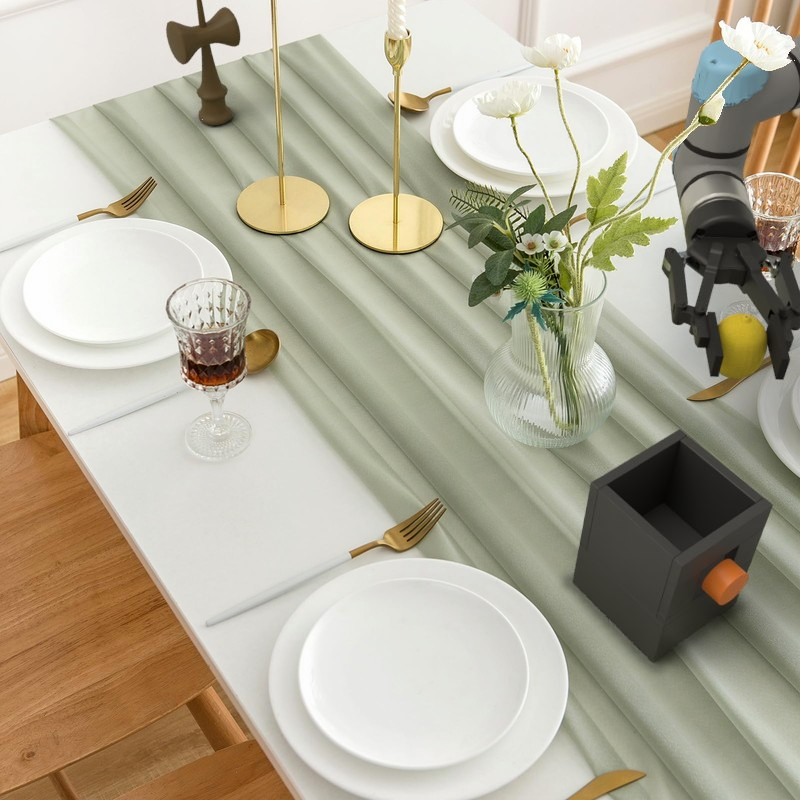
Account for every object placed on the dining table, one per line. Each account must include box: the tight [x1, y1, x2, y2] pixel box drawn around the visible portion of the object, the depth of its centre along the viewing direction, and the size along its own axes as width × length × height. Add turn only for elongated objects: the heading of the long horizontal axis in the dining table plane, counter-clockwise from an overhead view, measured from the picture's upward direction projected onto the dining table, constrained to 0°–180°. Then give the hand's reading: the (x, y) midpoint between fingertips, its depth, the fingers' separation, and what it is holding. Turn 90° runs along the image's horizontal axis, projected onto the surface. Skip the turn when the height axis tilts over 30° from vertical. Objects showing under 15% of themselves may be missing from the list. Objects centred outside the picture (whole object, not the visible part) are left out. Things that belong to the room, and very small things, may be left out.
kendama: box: [165, 0, 241, 126], centre depth 158 cm, size 6×10×20 cm, turn 124°
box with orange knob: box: [572, 428, 774, 663], centre depth 99 cm, size 11×11×15 cm
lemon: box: [717, 313, 768, 380], centre depth 109 cm, size 6×6×8 cm
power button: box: [702, 559, 750, 605], centre depth 94 cm, size 2×4×4 cm, turn 125°
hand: (749, 367), depth 104 cm, fingers closed on lemon, 5 cm apart
